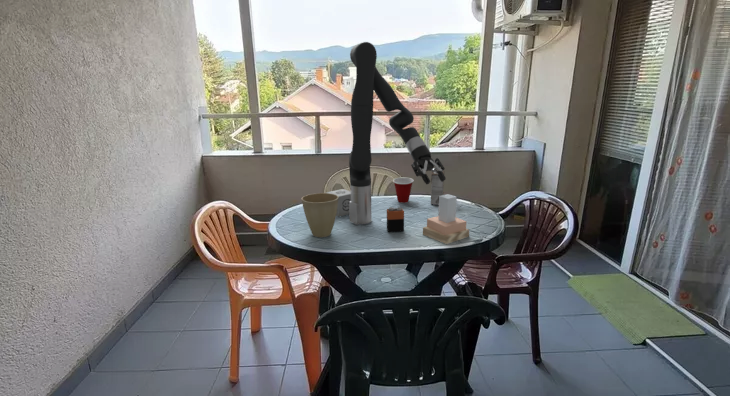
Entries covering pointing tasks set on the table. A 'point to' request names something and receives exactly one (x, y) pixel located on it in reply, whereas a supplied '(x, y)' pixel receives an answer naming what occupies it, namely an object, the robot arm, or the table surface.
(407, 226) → the table surface
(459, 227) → the terracotta slab
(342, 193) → the icon cube
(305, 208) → the plant pot
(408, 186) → the plastic cup
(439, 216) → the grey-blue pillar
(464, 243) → the table surface
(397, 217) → the battery
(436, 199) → the coffee box
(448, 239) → the birch slab
